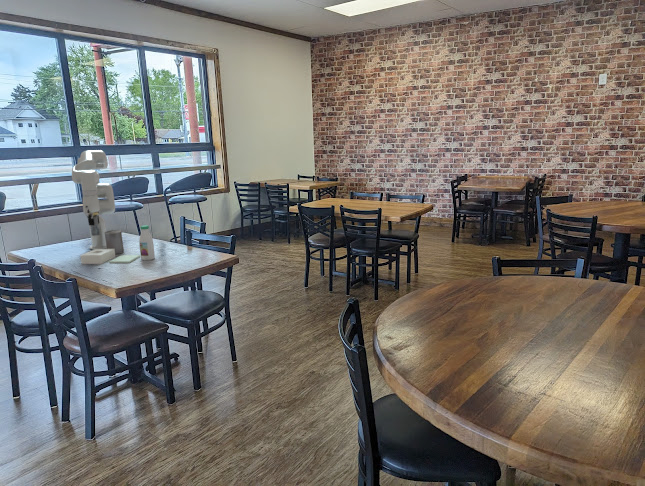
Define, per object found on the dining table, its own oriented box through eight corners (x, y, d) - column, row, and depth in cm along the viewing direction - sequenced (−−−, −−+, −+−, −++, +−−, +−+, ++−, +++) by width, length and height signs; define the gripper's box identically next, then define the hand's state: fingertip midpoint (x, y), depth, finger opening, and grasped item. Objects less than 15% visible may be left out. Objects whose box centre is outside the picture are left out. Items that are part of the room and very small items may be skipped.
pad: (121, 257, 276) (120, 255, 276) (140, 256, 275) (140, 255, 275) (109, 263, 262) (109, 261, 262) (129, 263, 262) (129, 261, 261)
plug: (93, 233, 269) (90, 211, 267) (102, 233, 269) (100, 211, 266) (88, 235, 264) (85, 213, 261) (97, 235, 264) (94, 213, 261)
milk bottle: (151, 256, 275) (148, 224, 271) (157, 258, 270) (153, 225, 266) (139, 259, 270) (135, 226, 266) (144, 261, 265) (140, 227, 260)
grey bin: (113, 250, 293) (110, 227, 289) (127, 251, 291) (124, 228, 287) (103, 254, 284) (100, 231, 280) (117, 254, 282) (114, 231, 278)
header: (96, 256, 278) (95, 248, 277) (115, 256, 277) (114, 248, 276) (81, 263, 262) (80, 255, 261) (101, 263, 262) (100, 255, 260)
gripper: (91, 191, 269) (95, 221, 274) (75, 195, 253) (79, 227, 257) (103, 191, 269) (107, 221, 273) (88, 195, 253) (92, 227, 257)
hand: (94, 224), depth 265 cm, fingers closed on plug, 4 cm apart
